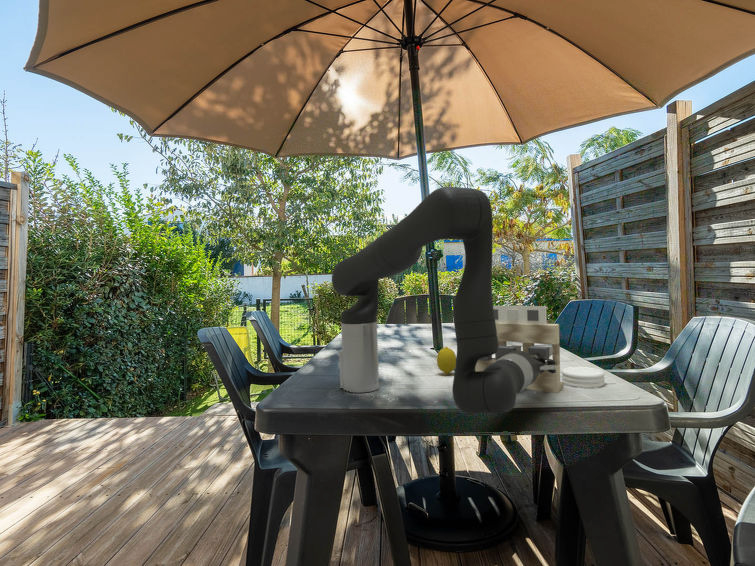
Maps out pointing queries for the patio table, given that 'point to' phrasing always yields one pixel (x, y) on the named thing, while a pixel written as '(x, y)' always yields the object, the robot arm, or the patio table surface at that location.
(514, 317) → the card
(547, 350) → the button right
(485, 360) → the button left
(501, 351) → the button mid
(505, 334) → the board
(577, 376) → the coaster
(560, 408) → the patio table surface
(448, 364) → the lemon
